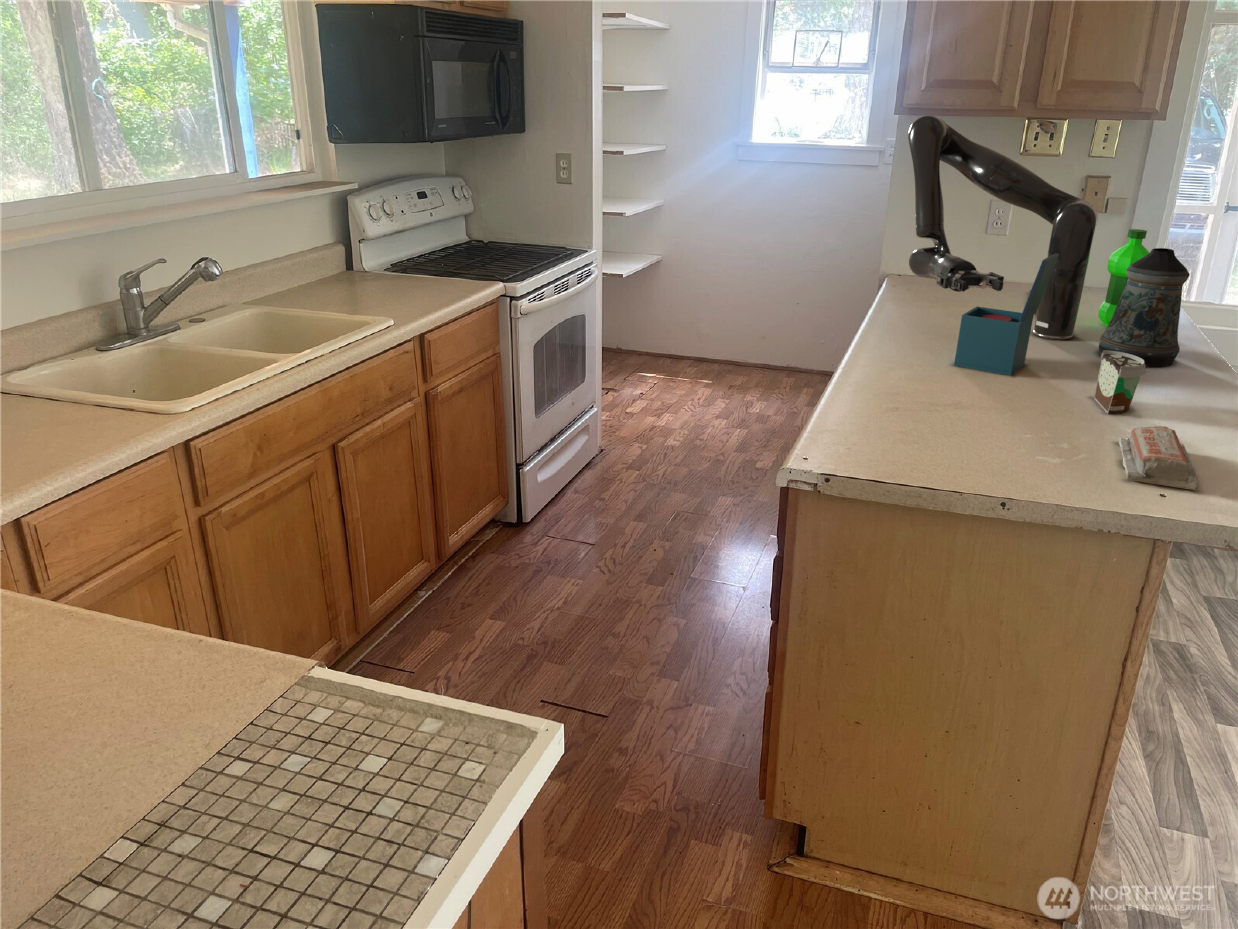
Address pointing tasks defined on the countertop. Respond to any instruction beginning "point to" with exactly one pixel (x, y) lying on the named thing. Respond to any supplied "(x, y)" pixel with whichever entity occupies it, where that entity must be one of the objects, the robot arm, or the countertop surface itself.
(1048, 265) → the cool box lid
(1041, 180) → the robot arm
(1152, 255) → the beer stein
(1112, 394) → the food container
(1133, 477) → the packaged product
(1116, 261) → the plastic bottle
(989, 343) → the cool box
